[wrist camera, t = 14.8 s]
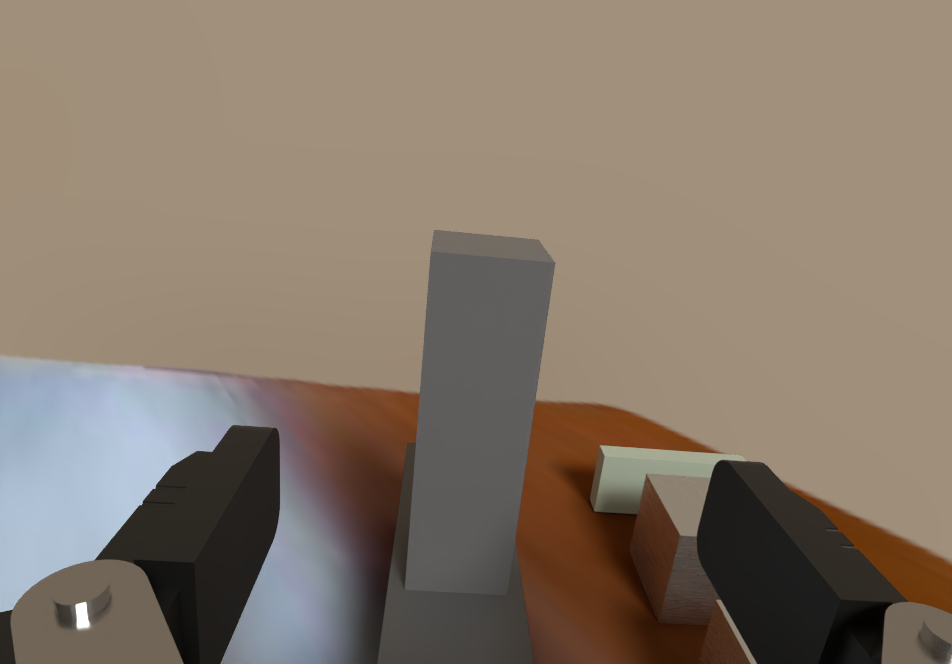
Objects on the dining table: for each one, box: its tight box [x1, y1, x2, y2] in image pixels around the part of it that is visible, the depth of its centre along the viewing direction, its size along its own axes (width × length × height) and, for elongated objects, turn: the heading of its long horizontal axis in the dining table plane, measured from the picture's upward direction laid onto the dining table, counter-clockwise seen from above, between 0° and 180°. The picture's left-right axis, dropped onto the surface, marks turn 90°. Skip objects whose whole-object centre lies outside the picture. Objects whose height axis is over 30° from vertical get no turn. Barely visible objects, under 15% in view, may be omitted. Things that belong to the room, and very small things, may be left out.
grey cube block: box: [629, 473, 721, 625], centre depth 24 cm, size 4×4×4 cm
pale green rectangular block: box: [590, 445, 746, 514], centre depth 21 cm, size 7×19×3 cm, turn 2°
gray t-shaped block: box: [377, 230, 555, 664], centre depth 18 cm, size 4×14×14 cm, turn 2°
